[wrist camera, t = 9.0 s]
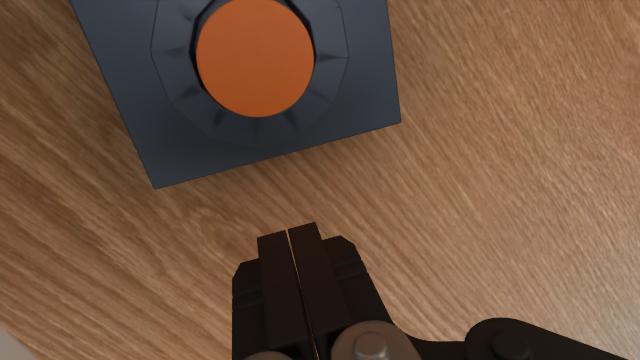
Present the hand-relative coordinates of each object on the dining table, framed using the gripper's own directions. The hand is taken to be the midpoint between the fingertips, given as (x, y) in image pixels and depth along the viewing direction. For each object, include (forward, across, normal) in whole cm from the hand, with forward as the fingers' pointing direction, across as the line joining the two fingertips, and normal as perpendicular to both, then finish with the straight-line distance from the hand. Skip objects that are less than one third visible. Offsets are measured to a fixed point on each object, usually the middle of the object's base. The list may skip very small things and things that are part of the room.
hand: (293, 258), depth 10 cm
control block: (+10, 0, -4) cm, 11 cm away
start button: (+6, 0, -4) cm, 8 cm away
